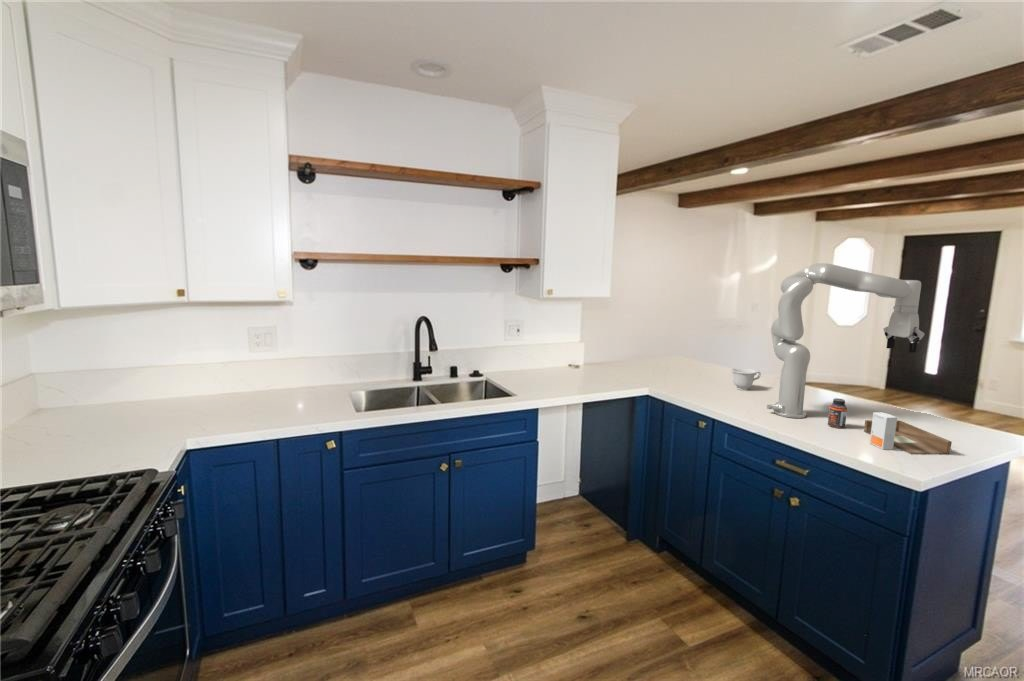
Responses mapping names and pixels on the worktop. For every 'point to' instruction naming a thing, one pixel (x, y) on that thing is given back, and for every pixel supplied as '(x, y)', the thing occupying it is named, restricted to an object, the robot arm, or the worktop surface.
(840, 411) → the supplement bottle
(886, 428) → the skincare box
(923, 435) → the wooden tray
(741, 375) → the teacup
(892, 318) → the robot arm
